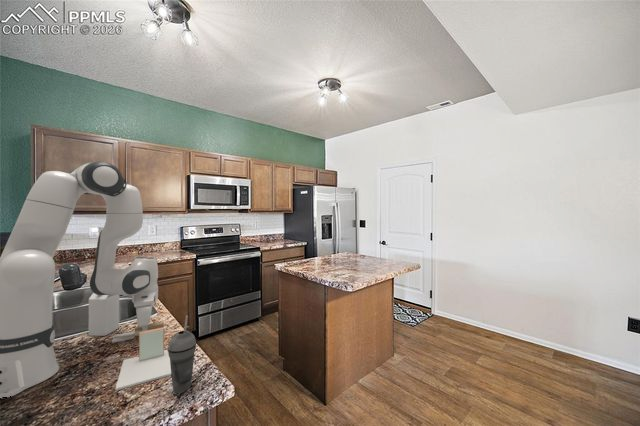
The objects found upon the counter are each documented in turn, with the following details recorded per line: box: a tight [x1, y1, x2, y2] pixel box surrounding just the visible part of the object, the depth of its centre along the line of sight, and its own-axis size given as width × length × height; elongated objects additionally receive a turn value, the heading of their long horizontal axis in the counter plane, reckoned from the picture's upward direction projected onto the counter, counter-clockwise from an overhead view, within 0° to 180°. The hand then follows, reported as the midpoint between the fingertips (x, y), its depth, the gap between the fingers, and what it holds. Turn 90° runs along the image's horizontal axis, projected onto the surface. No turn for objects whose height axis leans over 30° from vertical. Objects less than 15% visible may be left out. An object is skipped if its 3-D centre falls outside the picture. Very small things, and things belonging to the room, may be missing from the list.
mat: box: [114, 349, 171, 391], centre depth 83 cm, size 14×17×1 cm
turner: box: [111, 321, 165, 344], centre depth 106 cm, size 6×17×3 cm, turn 121°
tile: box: [138, 326, 165, 361], centre depth 88 cm, size 7×2×9 cm, turn 121°
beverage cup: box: [167, 315, 197, 393], centre depth 73 cm, size 7×7×20 cm
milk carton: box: [88, 292, 120, 337], centre depth 109 cm, size 7×7×19 cm
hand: (145, 329), depth 107 cm, fingers closed on turner, 2 cm apart
